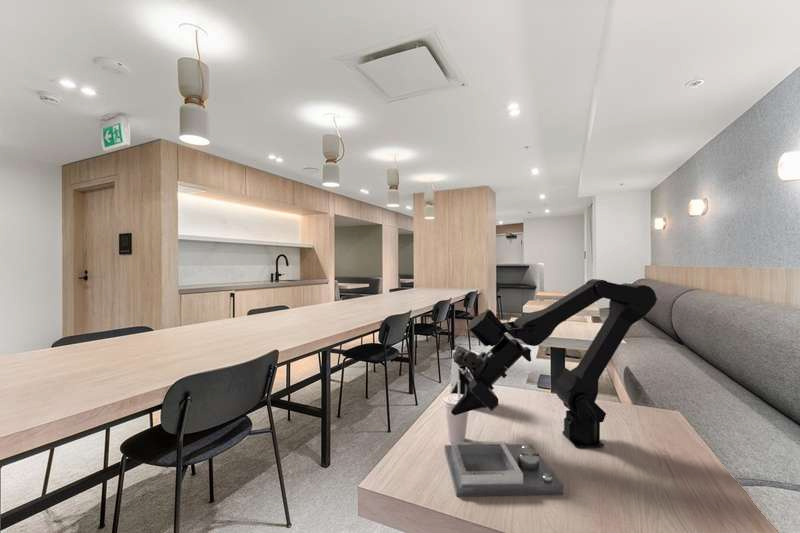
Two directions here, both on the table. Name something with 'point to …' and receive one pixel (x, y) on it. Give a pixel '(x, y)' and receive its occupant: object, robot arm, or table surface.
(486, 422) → the table surface
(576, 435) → the robot arm
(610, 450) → the table surface
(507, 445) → the grey tray with knobs
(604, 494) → the table surface
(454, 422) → the smoothie
